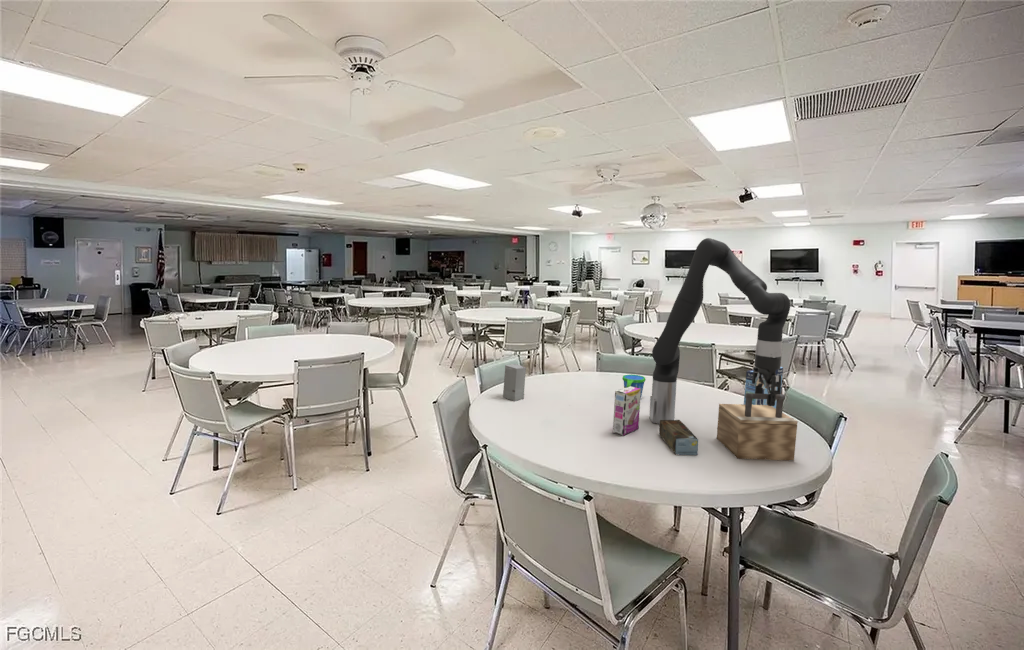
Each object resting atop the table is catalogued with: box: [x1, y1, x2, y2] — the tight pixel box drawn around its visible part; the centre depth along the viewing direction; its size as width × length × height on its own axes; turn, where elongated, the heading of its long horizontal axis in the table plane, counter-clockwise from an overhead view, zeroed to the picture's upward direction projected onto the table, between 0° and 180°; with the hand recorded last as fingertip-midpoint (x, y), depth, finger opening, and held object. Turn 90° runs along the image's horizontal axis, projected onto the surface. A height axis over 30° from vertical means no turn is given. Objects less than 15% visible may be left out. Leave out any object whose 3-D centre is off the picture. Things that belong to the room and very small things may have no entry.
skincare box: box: [502, 363, 527, 402], centre depth 218 cm, size 8×7×16 cm
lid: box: [718, 393, 799, 426], centre depth 158 cm, size 18×18×9 cm
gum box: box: [743, 366, 784, 409], centre depth 185 cm, size 20×5×23 cm, turn 123°
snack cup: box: [622, 374, 646, 399], centre depth 222 cm, size 16×10×10 cm
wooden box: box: [716, 406, 798, 461], centre depth 160 cm, size 18×18×12 cm
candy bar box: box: [612, 386, 642, 437], centre depth 175 cm, size 11×5×16 cm, turn 134°
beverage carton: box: [658, 419, 699, 456], centre depth 164 cm, size 8×19×7 cm, turn 178°
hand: (764, 401), depth 153 cm, fingers open, 8 cm apart
